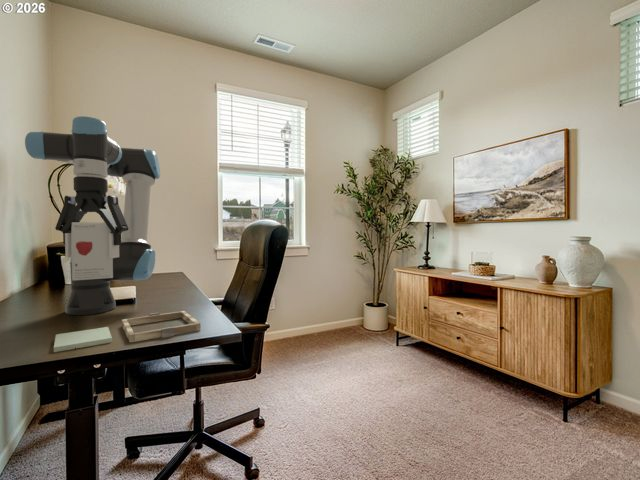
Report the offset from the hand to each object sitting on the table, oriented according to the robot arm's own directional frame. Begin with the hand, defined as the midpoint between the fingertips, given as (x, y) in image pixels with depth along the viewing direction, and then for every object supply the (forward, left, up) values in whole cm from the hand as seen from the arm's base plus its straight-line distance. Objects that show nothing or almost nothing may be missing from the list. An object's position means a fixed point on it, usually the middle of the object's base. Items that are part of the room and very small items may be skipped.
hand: (92, 257), depth 89 cm
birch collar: (0, +17, -22) cm, 28 cm away
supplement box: (0, 0, -6) cm, 6 cm away
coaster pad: (0, -2, -22) cm, 22 cm away
